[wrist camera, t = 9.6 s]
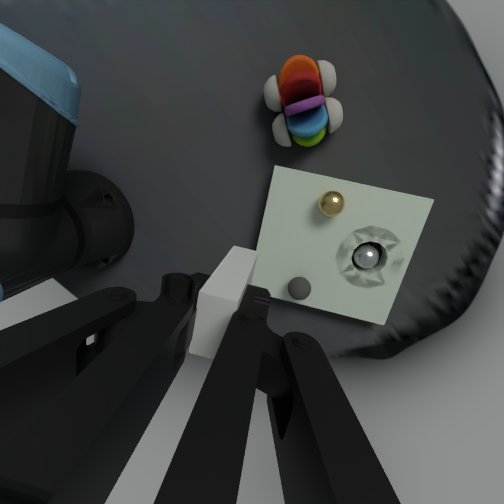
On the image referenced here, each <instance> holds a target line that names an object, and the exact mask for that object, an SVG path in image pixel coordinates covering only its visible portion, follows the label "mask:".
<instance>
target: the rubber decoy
mask: <svg viewBox="0 0 504 504" xmlns="http://www.w3.org/2000/svg"><path fill="white" fill-rule="evenodd" d="M288 293H289V295H290V296H291V297H292V298H293V299H295V300H304V299H306V298H307V297H308V296H309V295H310V293H311V285H310V282H309V281H308V280H307V279H306V278H304V277H295V278H293V279H291V280H290V282H289V283H288Z"/></svg>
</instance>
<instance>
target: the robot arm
mask: <svg viewBox="0 0 504 504" xmlns="http://www.w3.org/2000/svg"><path fill="white" fill-rule="evenodd" d="M80 96H81V86H80V82H79V80H78V78H77V76H76V74H75V73H74V72H73V70H72V69H71V68H70V67H69V66H67V65H66V64H65V63H63V62H62V61H60V60H59V59H57V58H56V57H54V56H53V55H51V54H50V53H48V52H47V51H45V50H43V49H42V48H40V47H39V46H37V45H35V44H34V43H32V42H31V41H29V40H27V39H26V38H24V37H22V36H21V35H19V34H17V33H16V32H14V31H12V30H11V29H9V28H7V27H6V26H4V25H2V24H1V23H0V302H1V301H3V300H5V299H8V298H10V297H12V296H14V295H16V294H18V293H20V292H23V291H25V290H27V289H29V288H31V287H33V286H35V285H38V284H40V283H42V282H44V281H46V280H48V279H51V278H53V277H55V276H57V275H59V274H61V273H63V272H66V271H68V270H90V269H98V268H102V267H105V266H107V265H109V264H111V263H113V262H115V261H117V260H118V259H120V258H121V257H122V256H123V255H124V254H125V253H126V252H127V250H128V249H129V247H130V245H131V243H132V239H133V235H134V219H133V214H132V211H131V208H130V205H129V203H128V201H127V199H126V198H125V196H124V195H123V193H122V192H121V191H120V189H119V188H118V187H117V186H116V185H115V184H114V183H112V182H111V181H110V180H108V179H107V178H105V177H104V176H102V175H100V174H97V173H94V172H91V171H83V170H73V171H67V167H68V162H69V157H70V152H71V148H72V143H73V139H74V134H75V130H76V127H78V125H79V122H78V120H77V118H78V110H79V102H80ZM257 257H258V251H254V250H250V249H246V248H241V247H237V246H233V247H232V249H231V250H230V251H229V253H228V254H227V255H226V257H225V258H224V259H223V261H222V262H221V263H220V265H219V266H218V267H217V269H216V270H215V271H214V273H213V274H212V275H207V274H203V273H199V272H198V273H195V274H192V275H188V274H183V273H168V274H165V275H163V277H162V285H161V293H160V296H159V297H158V298H157V299H156V300H155V301H154V302H144V301H136V297H137V295H136V293H135V292H134V291H133V290H131V289H128V288H125V287H110V288H106V289H102V290H100V291H97V292H95V293H92V294H90V295H87V296H85V297H83V298H80V299H78V300H75V301H73V302H70V303H68V304H65V305H63V306H60V307H58V308H55V309H53V310H50V311H48V312H45V313H43V314H40V315H38V316H35V317H33V318H30V319H28V320H25V321H23V322H21V323H18V324H15V325H13V326H10V327H8V328H5V329H3V330H0V504H104V503H105V502H106V500H107V498H108V496H109V494H110V492H111V491H112V489H113V487H114V486H115V484H116V482H117V480H118V478H119V477H120V475H121V472H122V471H123V469H124V467H125V466H126V464H127V462H128V460H129V458H130V457H131V455H132V453H133V452H134V449H135V448H136V446H137V444H138V443H139V441H140V439H141V437H142V435H143V434H144V431H145V430H146V428H147V426H148V425H149V423H150V421H151V419H152V417H153V416H154V414H155V412H156V410H157V409H158V407H159V405H160V403H161V401H162V399H163V398H164V396H165V394H166V392H167V391H168V388H169V387H170V385H171V383H172V382H173V380H174V378H175V376H176V374H177V373H178V371H179V369H180V367H181V366H182V364H183V362H184V359H185V354H186V349H187V347H188V346H189V344H190V349H189V353H192V354H195V355H199V356H202V357H206V358H210V359H213V362H212V365H211V367H210V369H209V372H208V374H207V377H206V379H205V382H204V384H203V386H202V389H201V391H200V393H199V396H198V399H197V401H196V403H195V406H194V408H193V410H192V413H191V415H190V418H189V420H188V422H187V425H186V427H185V429H184V432H183V434H182V437H181V439H180V441H179V444H178V446H177V449H176V451H175V453H174V456H173V458H172V461H171V463H170V465H169V468H168V470H167V473H166V475H165V477H164V480H163V482H162V485H161V487H160V489H159V492H158V494H157V497H156V499H155V501H154V504H236V502H237V495H238V490H239V484H240V478H241V472H242V466H243V461H244V455H245V449H246V443H247V437H248V431H249V425H250V419H251V414H252V408H253V402H254V396H255V390H256V388H257V389H259V390H261V391H262V392H264V393H266V394H267V404H268V410H269V416H270V422H271V427H272V433H273V438H274V444H275V449H276V456H277V461H278V467H279V473H280V477H281V484H282V489H283V495H284V501H285V504H401V503H400V502H399V499H398V498H397V496H396V494H395V491H394V490H393V488H392V485H391V484H390V482H389V480H388V478H387V476H386V474H385V472H384V470H383V468H382V466H381V464H380V462H379V460H378V458H377V456H376V454H375V452H374V450H373V448H372V446H371V444H370V442H369V440H368V438H367V436H366V434H365V432H364V430H363V428H362V426H361V424H360V422H359V420H358V419H357V417H356V415H355V413H354V411H353V409H352V407H351V405H350V403H349V401H348V399H347V397H346V395H345V393H344V391H343V389H342V387H341V385H340V383H339V381H338V379H337V377H336V375H335V373H334V371H333V369H332V367H331V365H330V363H329V361H328V359H327V357H326V355H325V353H324V351H323V349H322V347H321V346H320V344H319V343H318V342H317V340H315V339H314V338H313V337H311V336H310V335H308V334H305V333H301V332H289V333H286V335H285V336H284V337H281V336H279V335H278V334H276V333H274V332H273V331H272V330H270V328H269V327H268V326H267V321H266V320H267V314H268V308H269V302H270V296H271V294H270V292H269V291H268V289H266V288H262V287H258V286H254V285H251V283H252V279H253V274H254V270H255V265H256V261H257ZM93 334H94V342H93V343H92V344H90V345H86V338H87V337H89V336H91V335H93Z"/></svg>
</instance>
